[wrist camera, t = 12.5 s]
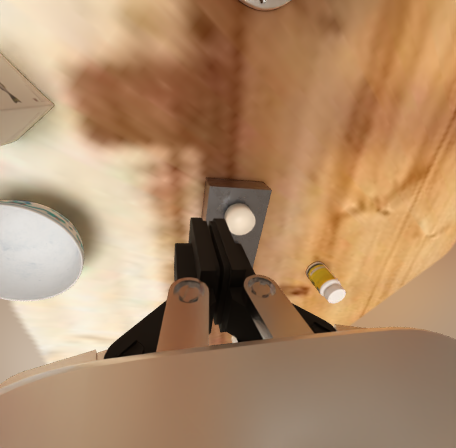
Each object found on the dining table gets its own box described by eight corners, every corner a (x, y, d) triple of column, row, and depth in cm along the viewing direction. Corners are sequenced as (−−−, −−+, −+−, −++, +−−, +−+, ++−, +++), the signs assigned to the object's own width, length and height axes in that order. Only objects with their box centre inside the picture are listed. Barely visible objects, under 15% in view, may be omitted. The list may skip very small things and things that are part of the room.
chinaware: (-43, 186, 31) (-99, 212, 25) (80, 177, 34) (59, 198, 28) (10, 272, 39) (-22, 309, 32) (107, 259, 42) (96, 291, 35)
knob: (222, 194, 39) (229, 209, 34) (247, 196, 40) (258, 210, 35) (218, 218, 41) (225, 235, 36) (242, 218, 42) (252, 235, 37)
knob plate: (206, 177, 38) (209, 186, 35) (263, 181, 41) (271, 190, 37) (194, 288, 49) (196, 303, 46) (239, 286, 52) (244, 299, 48)
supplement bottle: (301, 272, 54) (321, 300, 47) (316, 258, 53) (339, 284, 46) (313, 280, 56) (334, 307, 49) (328, 266, 55) (351, 292, 48)
